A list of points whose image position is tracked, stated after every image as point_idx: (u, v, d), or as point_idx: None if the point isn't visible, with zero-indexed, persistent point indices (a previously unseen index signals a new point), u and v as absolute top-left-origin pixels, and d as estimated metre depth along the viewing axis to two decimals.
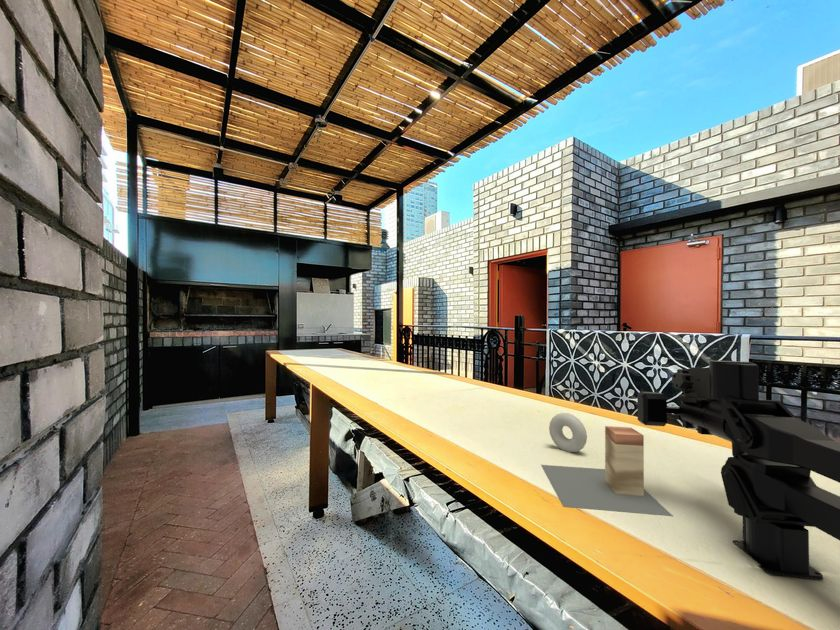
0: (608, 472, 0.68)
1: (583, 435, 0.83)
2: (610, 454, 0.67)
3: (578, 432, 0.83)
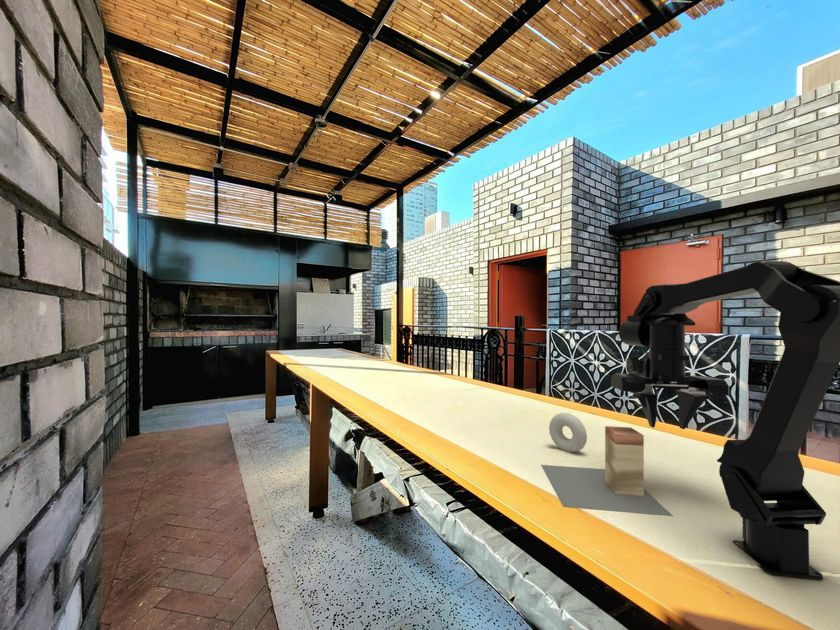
0: (608, 472, 0.68)
1: (583, 435, 0.83)
2: (610, 454, 0.67)
3: (578, 432, 0.83)
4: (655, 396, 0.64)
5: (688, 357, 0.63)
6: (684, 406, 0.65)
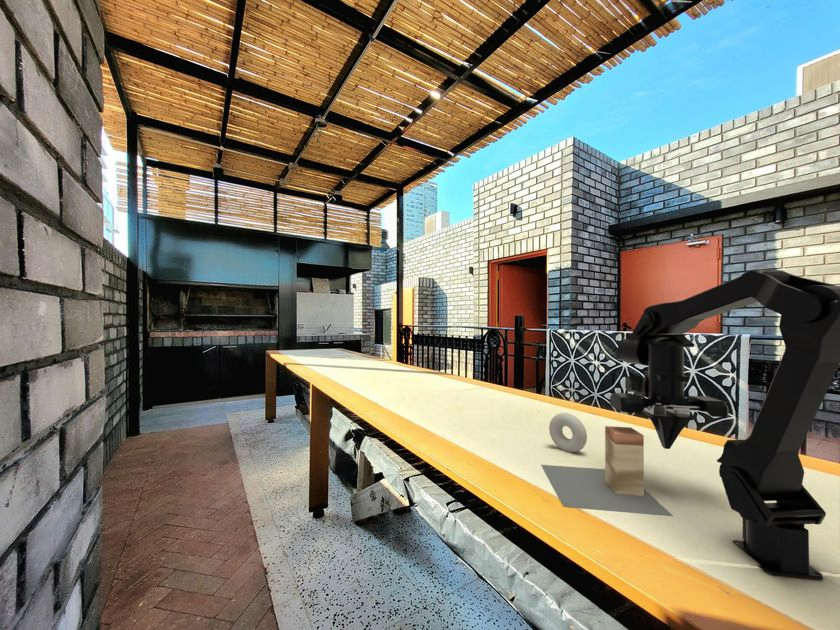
0: (608, 472, 0.68)
1: (583, 435, 0.83)
2: (610, 454, 0.67)
3: (578, 432, 0.83)
4: (668, 418, 0.63)
5: (687, 378, 0.63)
6: None
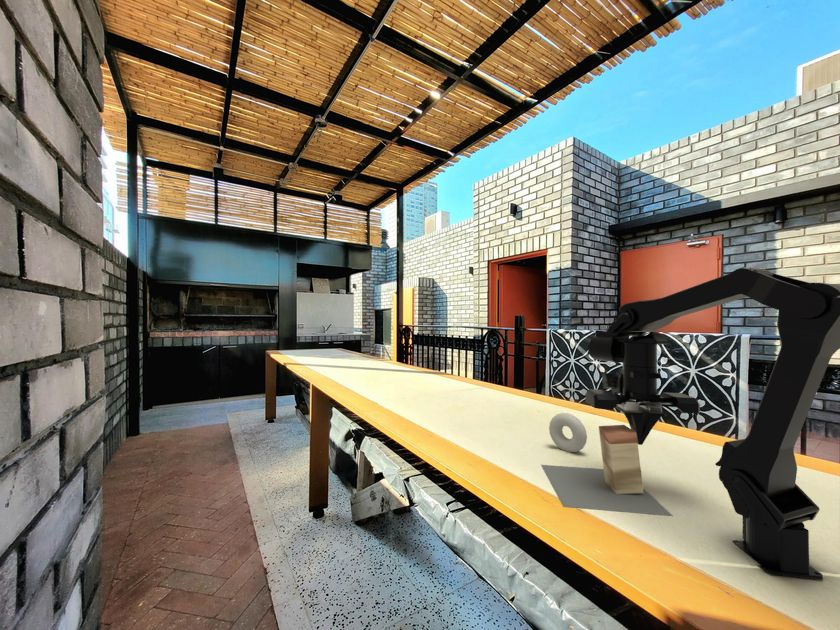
0: (607, 472, 0.68)
1: (583, 435, 0.83)
2: (606, 454, 0.67)
3: (578, 432, 0.83)
4: (641, 414, 0.64)
5: (659, 375, 0.64)
6: None
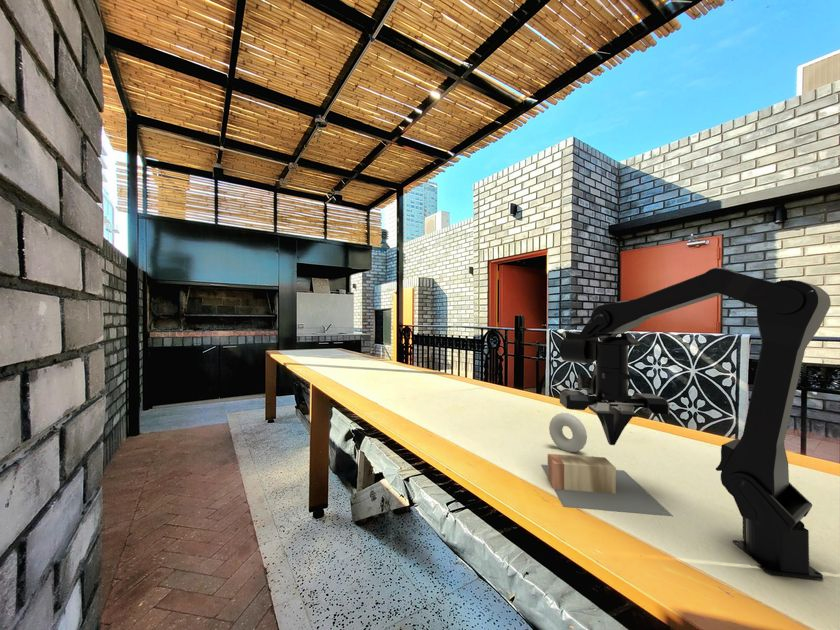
0: None
1: (583, 435, 0.83)
2: None
3: (578, 432, 0.83)
4: (611, 415, 0.65)
5: (630, 376, 0.64)
6: (614, 423, 0.67)
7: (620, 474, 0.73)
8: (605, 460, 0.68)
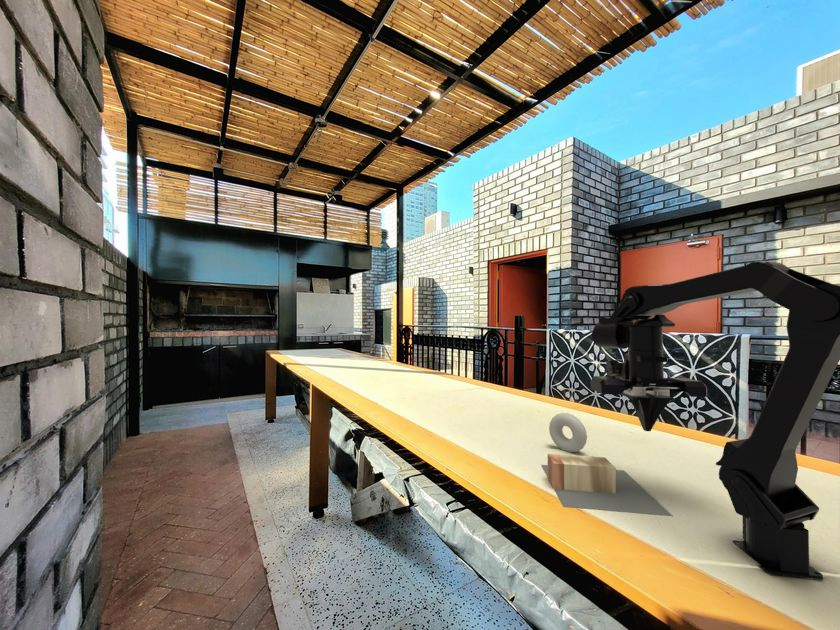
0: None
1: (583, 435, 0.83)
2: None
3: (578, 432, 0.83)
4: (648, 399, 0.62)
5: (666, 358, 0.62)
6: (649, 408, 0.65)
7: (620, 474, 0.73)
8: (605, 460, 0.68)
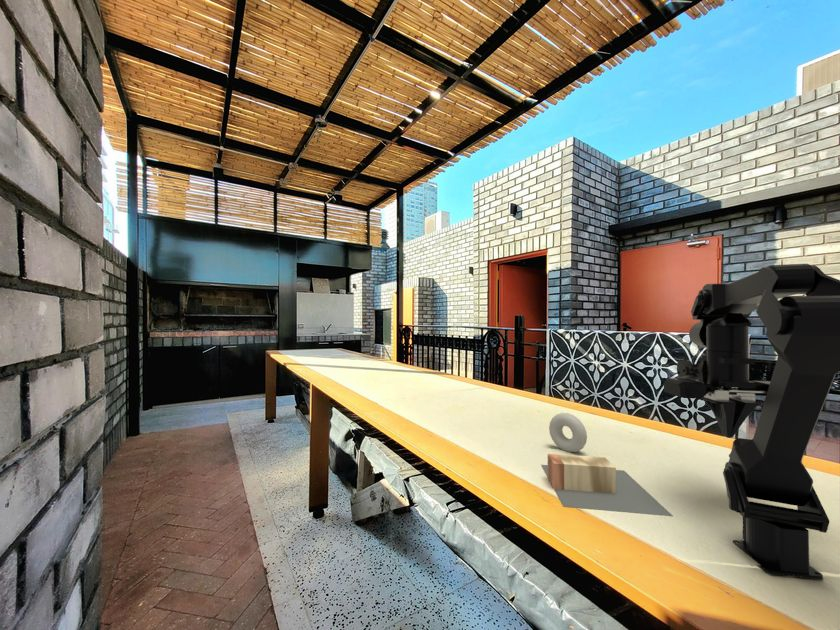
0: None
1: (583, 435, 0.83)
2: None
3: (578, 432, 0.83)
4: (733, 404, 0.58)
5: (753, 361, 0.58)
6: None
7: (620, 474, 0.73)
8: (605, 460, 0.68)
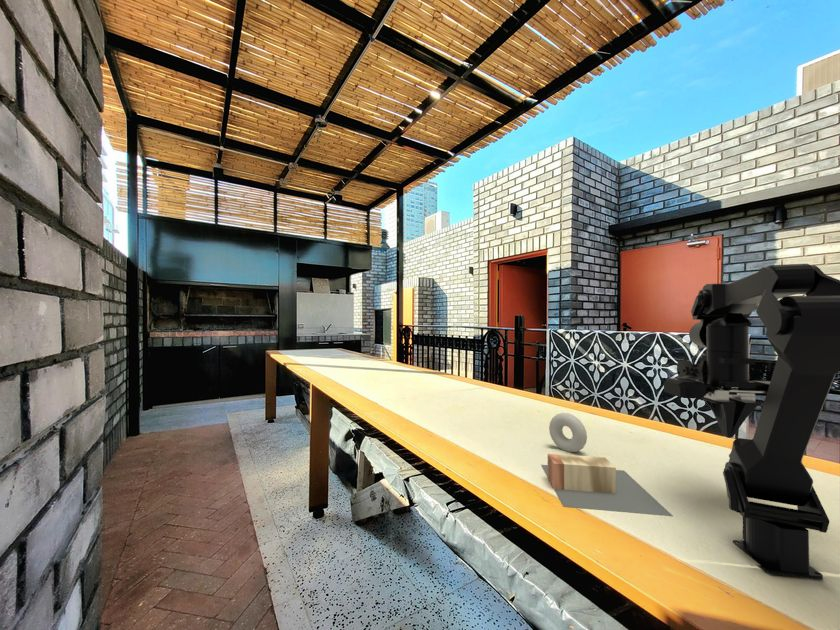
0: None
1: (583, 435, 0.83)
2: None
3: (578, 432, 0.83)
4: (733, 404, 0.58)
5: (753, 361, 0.58)
6: None
7: (620, 474, 0.73)
8: (605, 460, 0.68)
